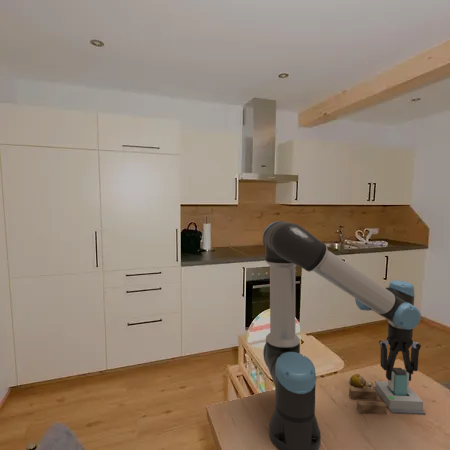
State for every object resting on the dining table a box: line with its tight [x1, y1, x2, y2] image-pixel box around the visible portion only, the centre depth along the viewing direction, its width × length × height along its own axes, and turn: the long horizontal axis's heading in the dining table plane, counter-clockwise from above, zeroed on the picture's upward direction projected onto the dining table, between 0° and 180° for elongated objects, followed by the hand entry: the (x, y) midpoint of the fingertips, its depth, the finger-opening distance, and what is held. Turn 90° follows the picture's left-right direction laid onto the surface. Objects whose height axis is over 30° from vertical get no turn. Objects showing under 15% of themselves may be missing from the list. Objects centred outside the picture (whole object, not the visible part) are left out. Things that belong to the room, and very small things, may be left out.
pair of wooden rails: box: [348, 387, 388, 415], centre depth 102 cm, size 9×9×3 cm
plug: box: [389, 367, 408, 396], centre depth 104 cm, size 4×4×10 cm
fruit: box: [349, 373, 374, 388], centre depth 113 cm, size 8×8×4 cm
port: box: [372, 380, 427, 416], centre depth 105 cm, size 11×14×4 cm
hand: (398, 388), depth 104 cm, fingers open, 4 cm apart
